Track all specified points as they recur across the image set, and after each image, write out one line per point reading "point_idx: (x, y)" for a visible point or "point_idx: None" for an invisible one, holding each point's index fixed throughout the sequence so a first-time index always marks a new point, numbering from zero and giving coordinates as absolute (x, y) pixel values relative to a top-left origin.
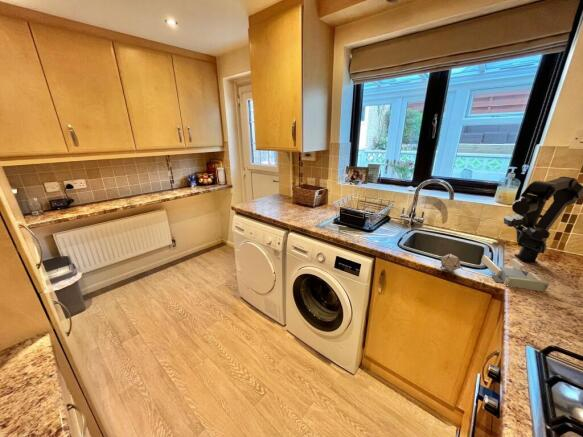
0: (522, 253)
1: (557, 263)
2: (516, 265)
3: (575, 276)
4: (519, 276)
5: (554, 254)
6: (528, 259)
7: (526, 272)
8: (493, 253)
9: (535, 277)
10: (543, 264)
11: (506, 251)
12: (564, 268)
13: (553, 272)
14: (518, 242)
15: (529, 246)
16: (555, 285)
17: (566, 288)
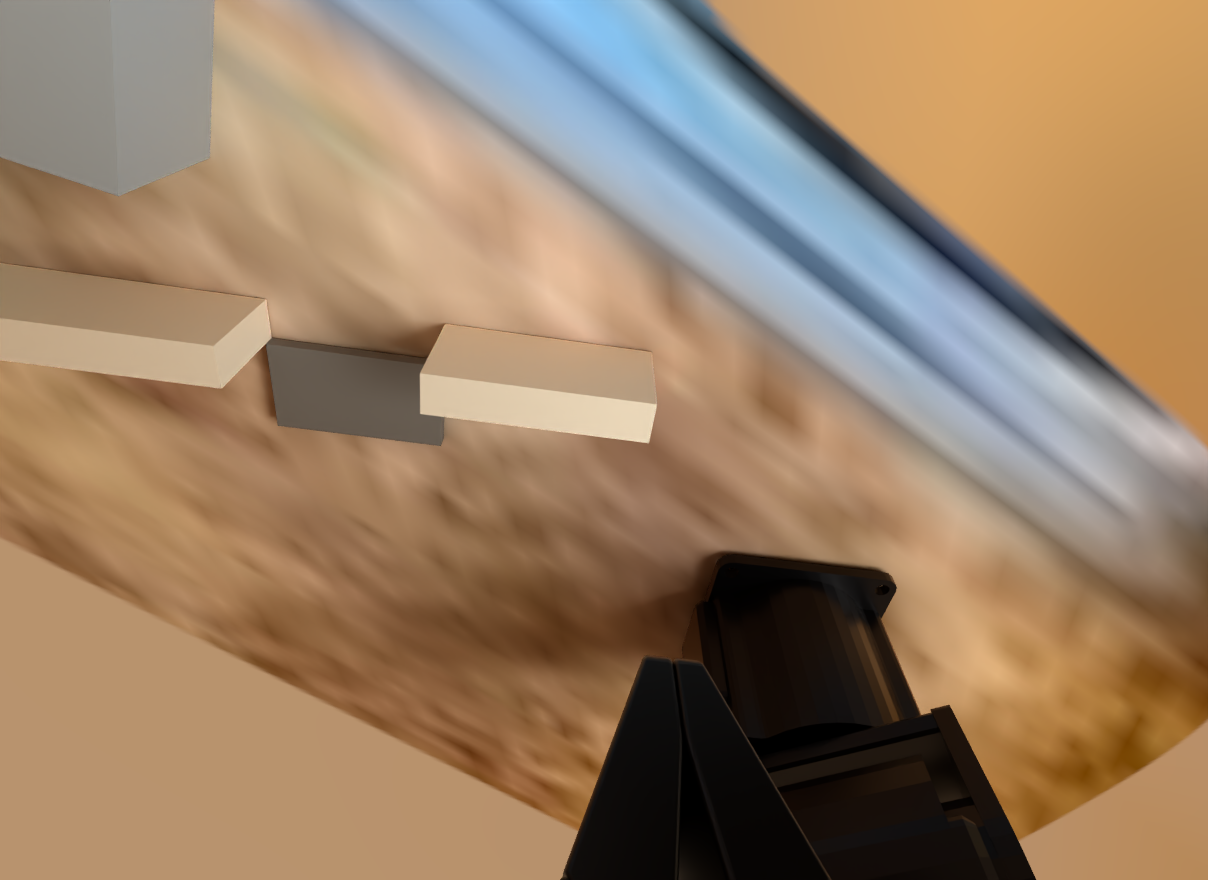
0: (808, 639)
1: None
2: (515, 359)
3: (475, 769)
4: None
5: None
6: (708, 622)
7: (408, 399)
8: (998, 328)
9: (40, 322)
10: None
11: (1005, 553)
12: None
13: (511, 674)
14: (639, 668)
15: (784, 787)
16: (204, 518)
17: (185, 574)
